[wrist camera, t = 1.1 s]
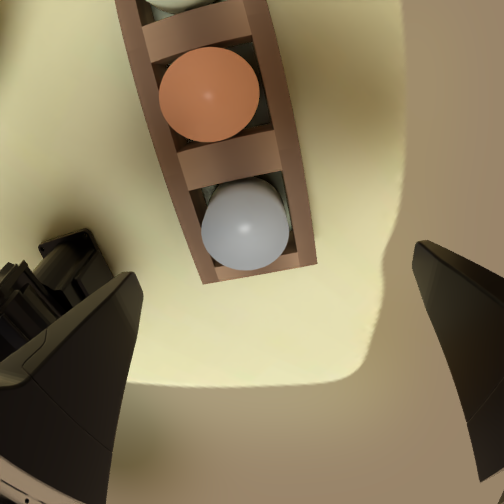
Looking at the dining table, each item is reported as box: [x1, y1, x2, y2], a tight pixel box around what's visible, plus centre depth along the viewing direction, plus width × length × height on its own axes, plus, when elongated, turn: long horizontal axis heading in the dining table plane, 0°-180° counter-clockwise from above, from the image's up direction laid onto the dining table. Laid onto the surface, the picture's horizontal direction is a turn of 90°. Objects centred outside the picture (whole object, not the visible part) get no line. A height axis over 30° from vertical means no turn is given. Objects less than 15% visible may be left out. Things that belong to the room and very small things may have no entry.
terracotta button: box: [159, 47, 259, 142], centre depth 15 cm, size 5×5×3 cm
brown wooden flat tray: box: [115, 0, 317, 284], centre depth 16 cm, size 8×24×3 cm, turn 13°
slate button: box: [201, 177, 289, 270], centre depth 19 cm, size 5×5×3 cm
